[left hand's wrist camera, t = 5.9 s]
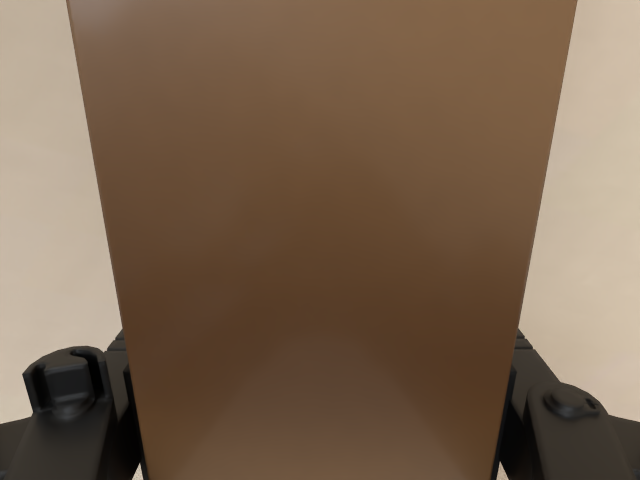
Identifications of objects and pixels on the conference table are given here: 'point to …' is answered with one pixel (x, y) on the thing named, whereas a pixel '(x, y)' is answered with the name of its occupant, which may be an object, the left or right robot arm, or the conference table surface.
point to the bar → (320, 224)
